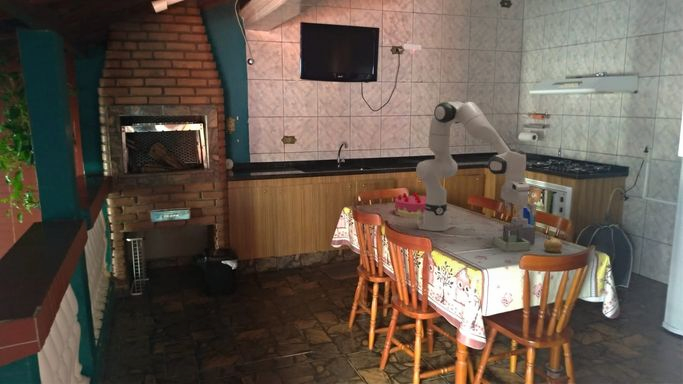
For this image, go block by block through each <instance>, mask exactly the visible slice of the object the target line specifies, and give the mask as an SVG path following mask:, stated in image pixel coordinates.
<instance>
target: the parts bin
mask: <svg viewBox="0 0 683 384" xmlns="http://www.w3.org/2000/svg"><path fill="white" fill-rule="evenodd" d="M516 239H517V236H510V235H508V243H506V242H504V241H503V235H502V236H493V246H495V247H497V248H499V249H501V250H502V251H504V252H506V253H507V252H508V253H510V252H512V253H513V252H524V251H526V252H527V251H530V250H531V245H530V242H528V241H526V240H524V239H522V242H519V243H516Z"/></svg>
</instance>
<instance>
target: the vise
mask: <svg viewBox="0 0 683 384" xmlns="http://www.w3.org/2000/svg"><path fill="white" fill-rule="evenodd" d="M516 224H521V225H523V232H522V239H524V240H526V241H528V242H530V246H532V245H535V243H536V241H535V239H536V226H535V227H534V226H532V225H530V224H528V219H524V218H523V219H517V216H516V217H511V221H510V223H509V225H516ZM509 236H517V231H509Z"/></svg>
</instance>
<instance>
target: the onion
mask: <svg viewBox="0 0 683 384" xmlns="http://www.w3.org/2000/svg"><path fill="white" fill-rule="evenodd" d="M543 247H544V250H545V251H547V252H551V253H559V252H561V251H562V249H563V243H562V241H561V240H559V239H558V238H555V237H554V236H548V237H547V239H546V240H544V244H543Z"/></svg>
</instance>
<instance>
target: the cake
mask: <svg viewBox="0 0 683 384" xmlns="http://www.w3.org/2000/svg"><path fill="white" fill-rule="evenodd" d="M425 204H426V195H419V194H418V192H416V191H415V192H414V193H413V195H407V192H404V193H403V194H402V195H401V194H398V196H397V197H396V198H394V209H395V215H396V214H397V215H400V216H403V217H402V218H405V217H409V218H408V219H414V218H419V216H421V214H422V213H423V211H424V210H425ZM397 215H396V216H397ZM400 216H399V217H400Z"/></svg>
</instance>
